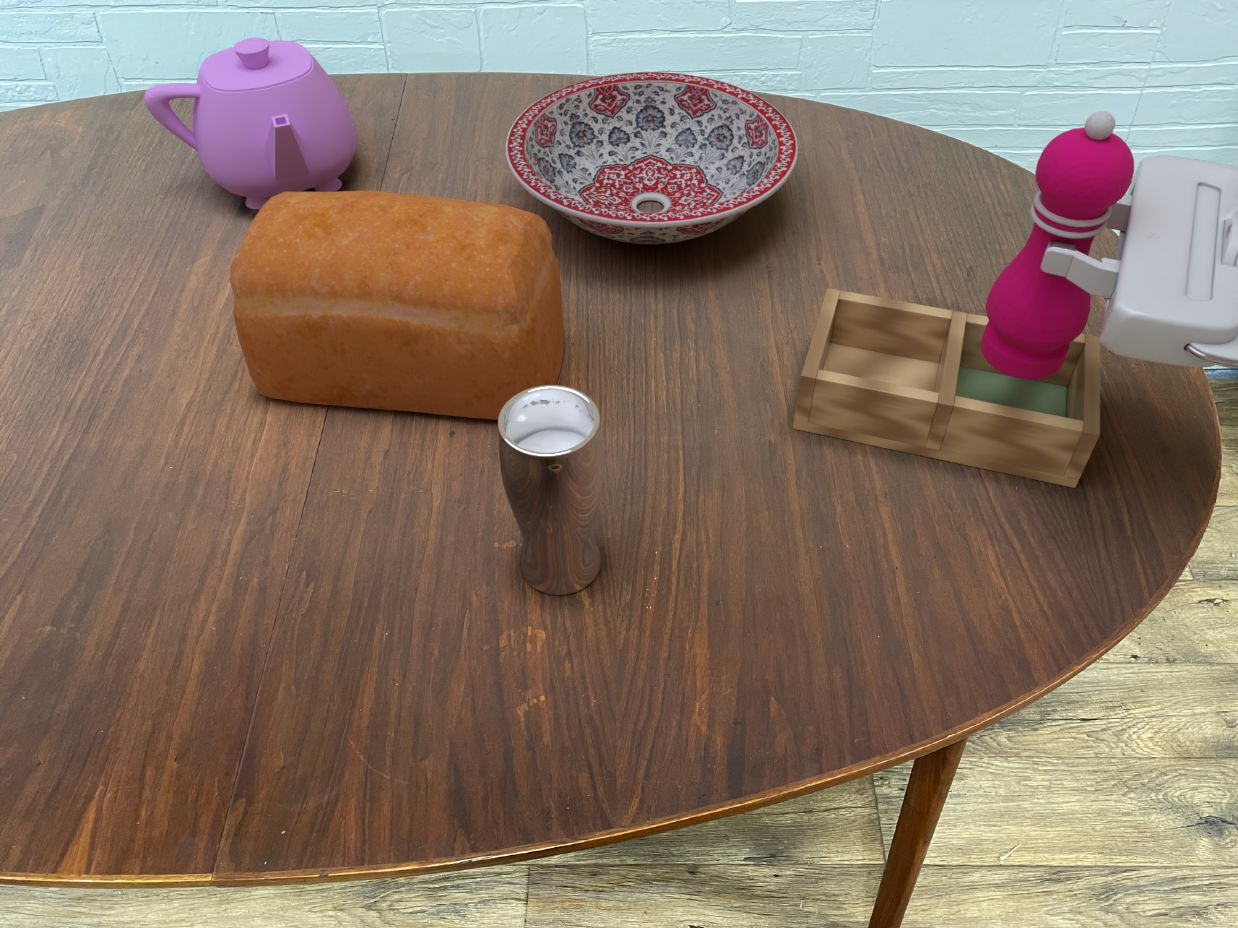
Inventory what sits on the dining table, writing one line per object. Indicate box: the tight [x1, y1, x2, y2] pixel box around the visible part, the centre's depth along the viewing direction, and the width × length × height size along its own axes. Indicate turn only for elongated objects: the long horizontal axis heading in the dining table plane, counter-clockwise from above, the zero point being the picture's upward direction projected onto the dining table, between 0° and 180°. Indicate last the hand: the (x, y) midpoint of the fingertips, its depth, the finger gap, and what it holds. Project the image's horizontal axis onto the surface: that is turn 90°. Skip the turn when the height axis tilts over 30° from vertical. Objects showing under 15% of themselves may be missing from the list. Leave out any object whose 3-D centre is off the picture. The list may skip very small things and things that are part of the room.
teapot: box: [143, 37, 358, 210], centre depth 108 cm, size 20×20×15 cm
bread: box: [229, 190, 565, 421], centre depth 87 cm, size 14×26×16 cm, turn 82°
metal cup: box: [497, 384, 605, 596], centre depth 72 cm, size 7×7×15 cm
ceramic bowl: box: [504, 71, 799, 245], centre depth 107 cm, size 29×29×8 cm
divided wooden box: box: [792, 287, 1101, 489], centre depth 86 cm, size 23×12×6 cm, turn 72°
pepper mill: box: [980, 110, 1135, 379], centre depth 73 cm, size 7×7×20 cm
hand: (1050, 230), depth 73 cm, fingers closed on pepper mill, 5 cm apart
